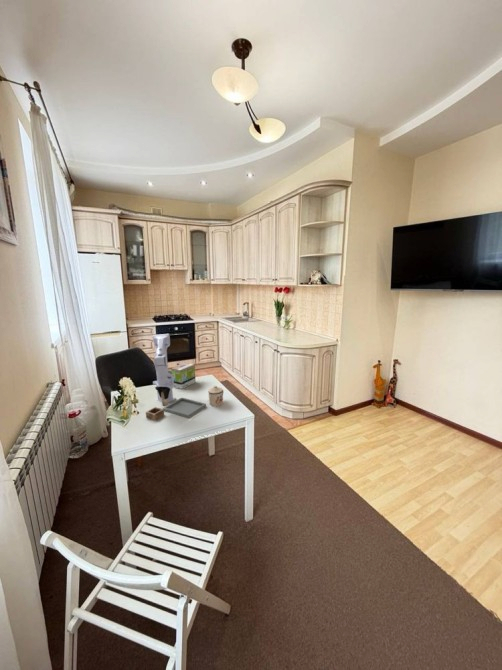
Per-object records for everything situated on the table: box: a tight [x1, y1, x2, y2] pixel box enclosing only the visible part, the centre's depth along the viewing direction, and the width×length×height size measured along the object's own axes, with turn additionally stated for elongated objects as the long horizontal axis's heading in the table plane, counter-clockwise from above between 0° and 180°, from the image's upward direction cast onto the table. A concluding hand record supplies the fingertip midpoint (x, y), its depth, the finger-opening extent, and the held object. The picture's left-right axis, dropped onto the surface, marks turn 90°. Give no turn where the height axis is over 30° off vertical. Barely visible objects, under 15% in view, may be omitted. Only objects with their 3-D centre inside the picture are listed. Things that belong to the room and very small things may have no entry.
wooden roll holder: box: [145, 406, 165, 421], centre depth 155 cm, size 7×7×4 cm
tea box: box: [170, 362, 197, 390], centre depth 200 cm, size 15×10×15 cm
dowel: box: [161, 392, 169, 407], centre depth 157 cm, size 3×3×8 cm
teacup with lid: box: [207, 385, 225, 407], centre depth 170 cm, size 12×9×12 cm
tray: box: [162, 397, 207, 419], centre depth 164 cm, size 20×16×2 cm
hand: (164, 397), depth 156 cm, fingers closed on dowel, 3 cm apart
